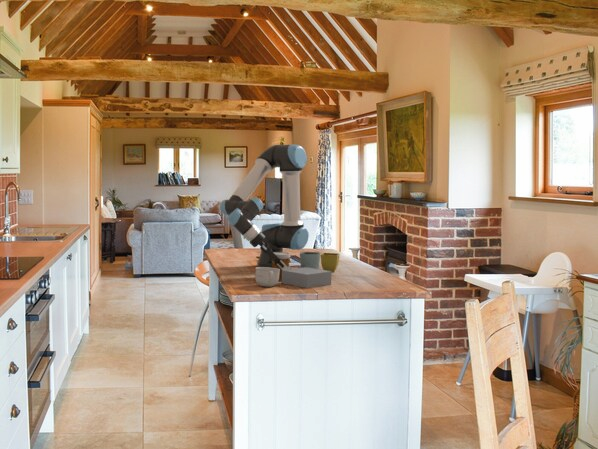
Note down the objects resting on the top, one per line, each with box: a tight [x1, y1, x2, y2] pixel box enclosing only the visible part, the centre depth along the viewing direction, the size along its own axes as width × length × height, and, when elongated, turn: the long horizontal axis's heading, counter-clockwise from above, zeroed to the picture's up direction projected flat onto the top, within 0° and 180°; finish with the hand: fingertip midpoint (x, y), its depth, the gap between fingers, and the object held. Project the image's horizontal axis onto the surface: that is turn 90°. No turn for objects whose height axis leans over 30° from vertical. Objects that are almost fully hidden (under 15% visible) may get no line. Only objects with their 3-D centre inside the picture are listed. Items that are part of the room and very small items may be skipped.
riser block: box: [281, 267, 333, 289], centre depth 299 cm, size 16×16×6 cm
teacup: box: [254, 266, 280, 288], centre depth 290 cm, size 14×11×8 cm
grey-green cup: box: [299, 251, 322, 269], centre depth 318 cm, size 10×10×12 cm
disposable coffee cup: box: [272, 251, 291, 280], centre depth 312 cm, size 10×10×12 cm
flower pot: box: [320, 252, 340, 273], centre depth 340 cm, size 9×9×9 cm
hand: (287, 270), depth 313 cm, fingers closed on disposable coffee cup, 9 cm apart
